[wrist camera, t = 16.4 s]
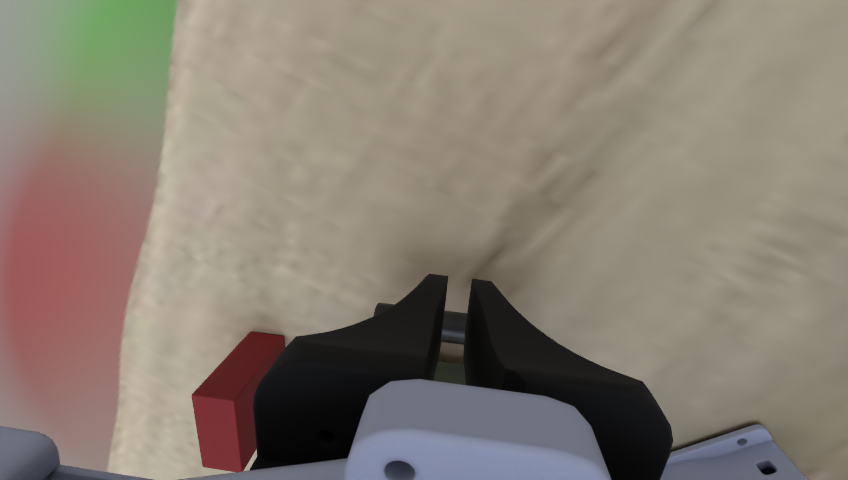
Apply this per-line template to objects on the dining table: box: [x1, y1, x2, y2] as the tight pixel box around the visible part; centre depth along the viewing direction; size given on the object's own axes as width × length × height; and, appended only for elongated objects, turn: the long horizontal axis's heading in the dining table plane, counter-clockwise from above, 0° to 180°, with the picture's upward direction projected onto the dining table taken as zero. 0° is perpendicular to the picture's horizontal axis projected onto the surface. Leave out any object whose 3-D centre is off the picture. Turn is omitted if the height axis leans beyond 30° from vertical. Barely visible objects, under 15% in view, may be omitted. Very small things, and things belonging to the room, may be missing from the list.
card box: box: [192, 332, 285, 472], centre depth 23 cm, size 5×2×6 cm, turn 176°
